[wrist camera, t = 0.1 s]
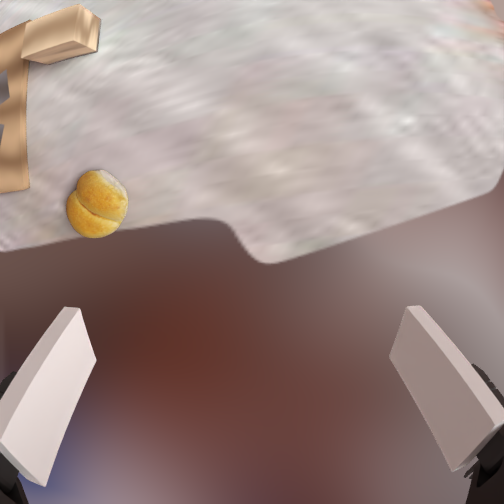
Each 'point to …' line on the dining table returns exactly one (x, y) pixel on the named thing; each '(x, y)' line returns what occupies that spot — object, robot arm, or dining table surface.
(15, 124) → the oak plank
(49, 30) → the block
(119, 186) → the bread roll
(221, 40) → the dining table surface
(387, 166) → the dining table surface
